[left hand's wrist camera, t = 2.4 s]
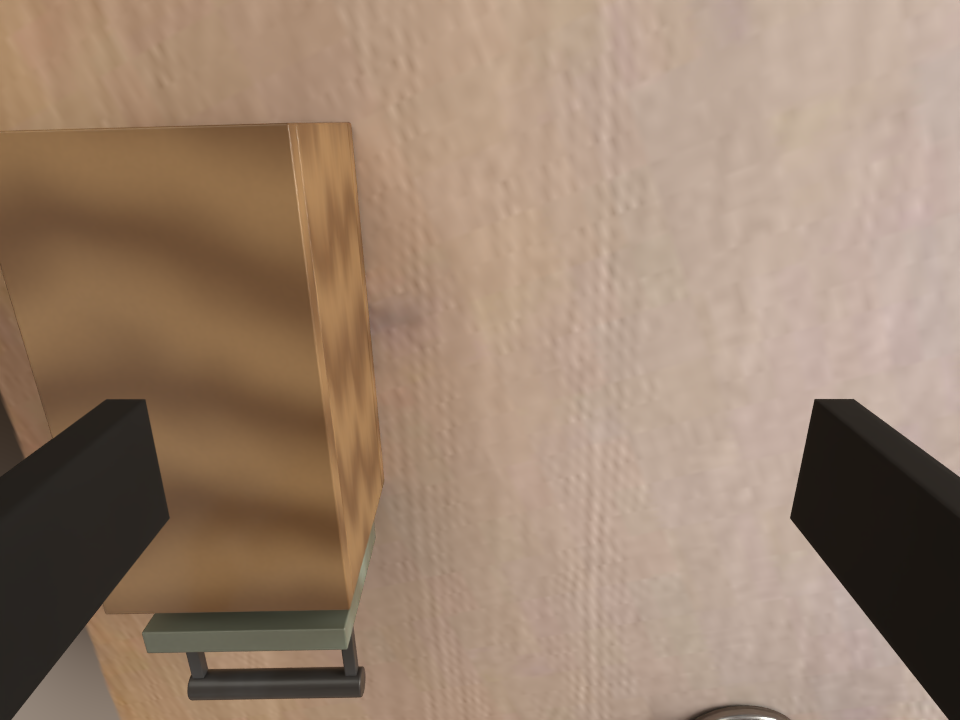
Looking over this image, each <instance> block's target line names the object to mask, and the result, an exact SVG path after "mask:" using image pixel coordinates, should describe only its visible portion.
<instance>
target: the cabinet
mask: <svg viewBox="0 0 960 720" xmlns="http://www.w3.org/2000/svg"><path fill="white" fill-rule="evenodd" d="M0 266H1V270H2V273H3V276H4V280H5V283H6V286H7V290H8V293H9V296H10V299H11V303H12V306H13V309H14V313H15V316H16V319H17V323H18V326H19V329H20V332H21V336H22V339H23V342H24V346H25V349H26V352H27V356H28V359H29V362H30V365H31V369H32V372H33V375H34V379H35V382H36V385H37V389H38V392H39V395H40V398H41V402H42V405H43V408H44V412H45V415H46V418H47V422H48V425H49V428H50V431H51V435H52V438H54V437H56V436H57V435H58V434H60V433H61V432H62V431H64V430H65V429H66V428H68V427H69V426H70V425H72V424H73V423H75V422H76V421H77V420H79V419H80V418H81V417H83V416H84V415H85V414H87V413H88V412H90V411H91V410H92V409H94V408H95V407H96V406H98V405H99V404H100V403H102V402H103V401H104V400H106V399H145V400H146V405H147V409H148V414H149V419H150V424H151V429H152V434H153V439H154V443H155V448H156V453H157V458H158V463H159V468H160V473H161V478H162V482H163V487H164V492H165V497H166V502H167V507H168V512H169V516H170V519H169V520H168V521H167V523H166V524H165V525H164V526H163V528H162V529H161V530H160V531H159V533H158V534H157V535H156V536H155V538H154V539H153V540H152V542H151V543H150V544H149V545H148V547H147V548H146V549H145V550H144V552H143V553H142V554H141V556H140V557H139V558H138V559H137V561H136V562H135V563H134V564H133V566H132V567H131V568H130V570H129V571H128V572H127V573H126V575H125V576H124V577H123V578H122V580H121V581H120V582H119V583H118V585H117V586H116V587H115V589H114V590H113V591H112V592H111V594H110V595H109V596H108V597H107V599H106V600H105V601H104V603H103V606H104V610H105V613H106V614H147V613H200V612H253V611H306V610H349V609H350V607H351V603H352V599H353V594H354V592H355V588H356V584H357V580H358V577H359V573H360V569H361V566H362V562H363V558H364V555H365V551H366V547H367V543H368V540H369V536H370V532H371V529H372V525H373V521H374V517H375V514H376V510H377V506H378V503H379V499H380V495H381V491H382V487H383V484H384V474H383V463H382V452H381V441H380V431H379V420H378V409H377V398H376V388H375V377H374V366H373V355H372V345H371V334H370V323H369V312H368V302H367V291H366V280H365V269H364V259H363V248H362V237H361V226H360V216H359V205H358V194H357V183H356V173H355V162H354V151H353V140H352V130H351V124H350V123H349V122H336V123H274V124H238V125H202V126H166V127H130V128H94V129H58V130H22V131H0Z"/></svg>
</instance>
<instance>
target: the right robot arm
mask: <svg viewBox="0 0 960 720" xmlns="http://www.w3.org/2000/svg"><path fill="white" fill-rule="evenodd" d="M694 720H790V719H789V718H788V717H786V716H785V715H783V714H781V713H779V712H776V711H774V710H771V709H768V708H763V707H758V706H732V707H726V708H721V709H717V710H714V711H711V712H708V713H706V714H704V715H701V716H699V717H698V718H696V719H694Z"/></svg>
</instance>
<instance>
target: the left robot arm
mask: <svg viewBox="0 0 960 720" xmlns="http://www.w3.org/2000/svg"><path fill="white" fill-rule="evenodd" d="M169 519H170V516H169V512H168V507H167V502H166V497H165V492H164V487H163V482H162V478H161V473H160V468H159V463H158V458H157V453H156V448H155V443H154V439H153V434H152V429H151V424H150V419H149V414H148V409H147V405H146V400H145V399H106V400H104V401H103V402H102V403H100V404H99V405H98V406H96V407H95V408H94V409H92V410H91V411H90V412H88V413H87V414H85V415H84V416H83V417H81V418H80V419H79V420H77V421H76V422H75V423H73V424H72V425H70V426H69V427H68V428H66V429H65V430H64V431H62V432H61V433H60V434H58V435H57V436H56V437H54V438H53V439H51V440H50V441H49V442H47V443H46V444H45V445H43V446H42V447H41V448H39V449H38V450H36V451H35V452H34V453H32V454H31V455H30V456H28V457H27V458H26V459H24V460H23V461H22V462H20V463H19V464H17V465H16V466H15V467H13V468H12V469H11V470H9V471H8V472H7V473H5V474H4V475H3V476H1V477H0V720H11V719H12V718H13V717H14V716H15V714H16V713H17V712H18V710H19V709H20V708H21V707H22V705H23V704H24V703H25V702H26V700H27V699H28V698H29V696H30V695H31V694H32V693H33V691H34V690H35V689H36V688H37V686H38V685H39V684H40V683H41V681H42V680H43V679H44V677H45V676H46V675H47V674H48V672H49V671H50V670H51V669H52V667H53V666H54V665H55V663H56V662H57V661H58V660H59V658H60V657H61V656H62V655H63V653H64V652H65V651H66V650H67V648H68V647H69V646H70V644H71V643H72V642H73V640H74V639H75V638H76V637H77V636H78V634H79V633H80V632H81V630H82V629H83V628H84V627H85V625H86V624H87V623H88V622H89V620H90V619H91V618H92V617H93V615H94V614H95V613H96V611H97V610H98V609H99V608H100V606H101V605H102V604H103V603H104V601H105V600H106V599H107V597H108V596H109V595H110V594H111V592H112V591H113V590H114V589H115V587H116V586H117V585H118V583H119V582H120V581H121V580H122V578H123V577H124V576H125V575H126V573H127V572H128V571H129V570H130V568H131V567H132V566H133V564H134V563H135V562H136V561H137V559H138V558H139V557H140V556H141V554H142V553H143V552H144V550H145V549H146V548H147V547H148V545H149V544H150V543H151V542H152V540H153V539H154V538H155V536H156V535H157V534H158V533H159V531H160V530H161V529H162V528H163V526H164V525H165V524H166V523H167V521H168V520H169ZM790 519H791V520H792V521H793V523H794V524H795V525H796V526H797V528H798V529H799V530H800V531H801V533H802V534H803V535H804V536H805V538H806V539H807V540H808V542H809V543H810V544H811V545H812V547H813V548H814V549H815V550H816V552H817V553H818V554H819V556H820V557H821V558H822V559H823V561H824V562H825V563H826V564H827V566H828V567H829V568H830V570H831V571H832V572H833V573H834V575H835V576H836V577H837V578H838V580H839V581H840V582H841V583H842V585H843V586H844V587H845V589H846V590H847V591H848V592H849V594H850V595H851V596H852V597H853V599H854V600H855V601H856V603H857V604H858V605H859V606H860V608H861V609H862V610H863V611H864V613H865V614H866V615H867V617H868V618H869V619H870V620H871V622H872V623H873V624H874V625H875V627H876V628H877V629H878V630H879V632H880V633H881V634H882V636H883V637H884V638H885V639H886V641H887V642H888V643H889V644H890V646H891V647H892V648H893V650H894V651H895V652H896V653H897V655H898V656H899V657H900V658H901V660H902V661H903V662H904V664H905V665H906V666H907V667H908V669H909V670H910V671H911V672H912V674H913V675H914V676H915V677H916V679H917V680H918V681H919V683H920V684H921V685H922V686H923V688H924V689H925V690H926V691H927V693H928V694H929V695H930V697H931V698H932V699H933V700H934V702H935V703H936V704H937V705H938V707H939V708H940V709H941V710H942V712H943V713H944V714H945V716H946V717H947V718H948V719H949V720H960V477H959V476H957V475H956V474H955V473H953V472H952V471H951V470H949V469H948V468H947V467H945V466H944V465H943V464H941V463H940V462H938V461H937V460H936V459H934V458H933V457H932V456H930V455H929V454H928V453H926V452H925V451H924V450H922V449H921V448H919V447H918V446H917V445H915V444H914V443H913V442H911V441H910V440H909V439H907V438H906V437H904V436H903V435H902V434H900V433H899V432H898V431H896V430H895V429H894V428H892V427H891V426H890V425H888V424H887V423H885V422H884V421H883V420H881V419H880V418H879V417H877V416H876V415H875V414H873V413H872V412H870V411H869V410H868V409H866V408H865V407H864V406H862V405H861V404H860V403H858V402H857V401H856V400H854V399H815V400H814V405H813V409H812V414H811V419H810V424H809V429H808V434H807V439H806V443H805V448H804V453H803V458H802V463H801V468H800V473H799V477H798V482H797V487H796V492H795V497H794V502H793V507H792V512H791V516H790Z"/></svg>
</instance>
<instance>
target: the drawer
mask: <svg viewBox="0 0 960 720" xmlns="http://www.w3.org/2000/svg"><path fill="white" fill-rule="evenodd" d="M375 538H376V536H375V526H374V521H373V525H372V529H371V532H370V536H369V540H368V543H367V547H366V551H365V555H364V558H363V562H362V566H361V569H360V573H359V577H358V580H357V584H356V588H355V592H354V594H353V599H352V603H351V607H350V609H349V610H306V611H253V612H200V613H155V614H154V615H153V617H152V618H151V620H150V622H149V623H148V625H147V626H146V628H145V629H144V631H143V632H142V636H143V639H144V643H145V646H146V650H147V652H148V653H178V652H186V654H187V658H188V662H189V666H190V670H191V674H192V675H191V677H190V679H189V683H188V697H189V699H190V700H238V699H296V698H354V697H362V696H363V693H364V689H365V669H364V667H358V659H357V651H356V643H355V635H354V627H353V625H354V621H355V617H356V613H357V609H358V605H359V601H360V597H361V593H362V590H363V586H364V582H365V578H366V574H367V570H368V566H369V562H370V558H371V554H372V550H373V546H374V542H375ZM288 650H342V656H343V664H344V667H308V668H253V669H208V667H207V663H206V658H205V654H204V652H233V651H288Z"/></svg>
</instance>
